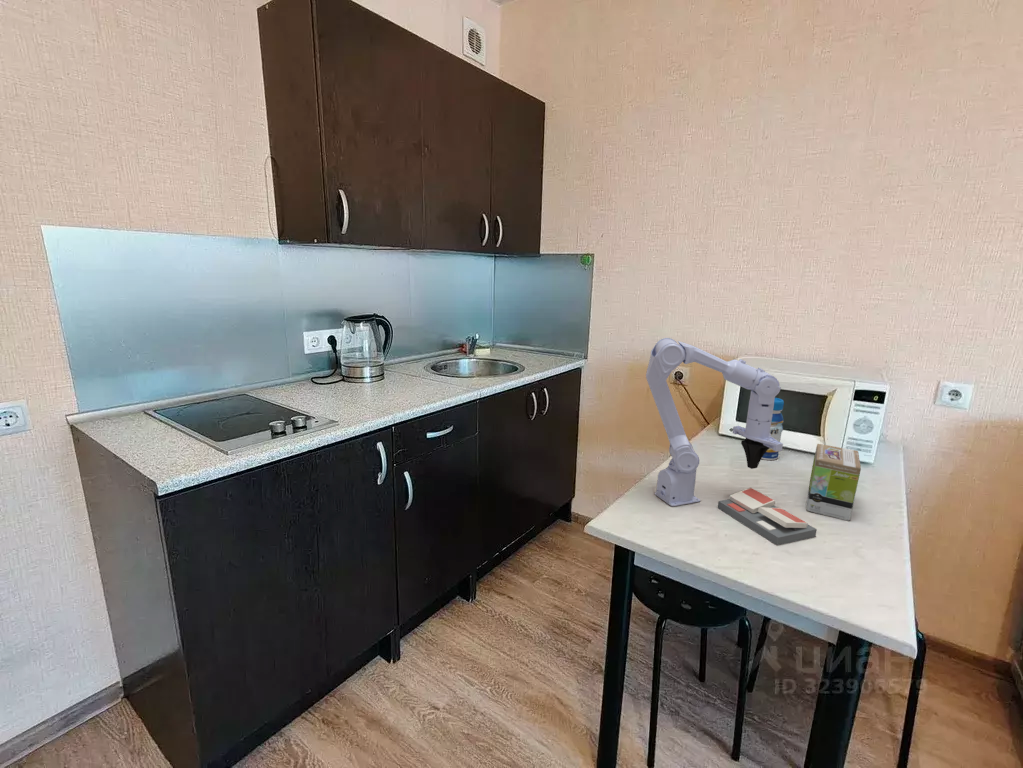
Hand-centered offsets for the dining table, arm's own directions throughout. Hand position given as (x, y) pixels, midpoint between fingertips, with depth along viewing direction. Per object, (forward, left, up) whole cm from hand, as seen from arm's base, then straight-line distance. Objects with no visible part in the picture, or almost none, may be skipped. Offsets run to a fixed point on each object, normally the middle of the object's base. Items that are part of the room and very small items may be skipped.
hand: (752, 467), depth 132 cm
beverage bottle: (+32, +25, -11) cm, 42 cm away
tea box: (+20, -8, -11) cm, 24 cm away
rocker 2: (-3, -14, -7) cm, 16 cm away
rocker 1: (-3, -4, -7) cm, 9 cm away
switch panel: (-4, -9, -10) cm, 14 cm away
